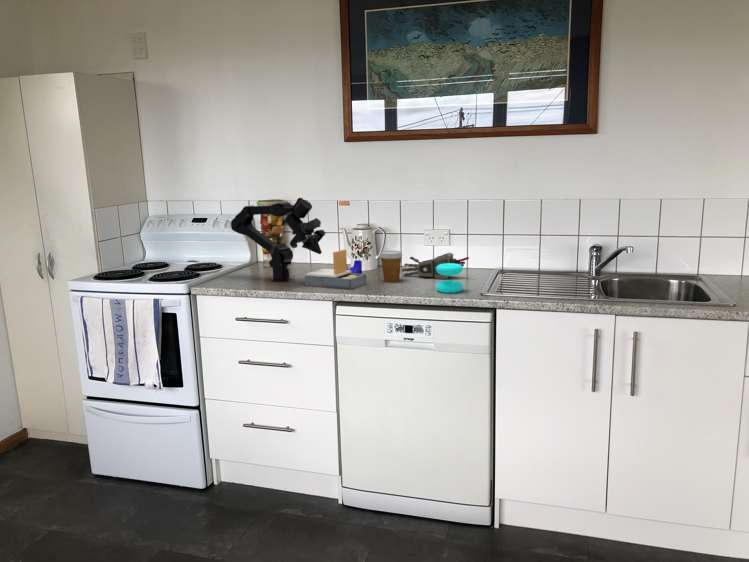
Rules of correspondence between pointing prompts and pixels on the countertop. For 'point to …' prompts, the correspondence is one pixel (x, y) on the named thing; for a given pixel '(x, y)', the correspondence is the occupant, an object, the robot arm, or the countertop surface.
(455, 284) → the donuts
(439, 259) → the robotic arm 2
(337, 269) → the lid
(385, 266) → the disposable coffee cup
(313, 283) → the frame
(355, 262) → the cable clip
